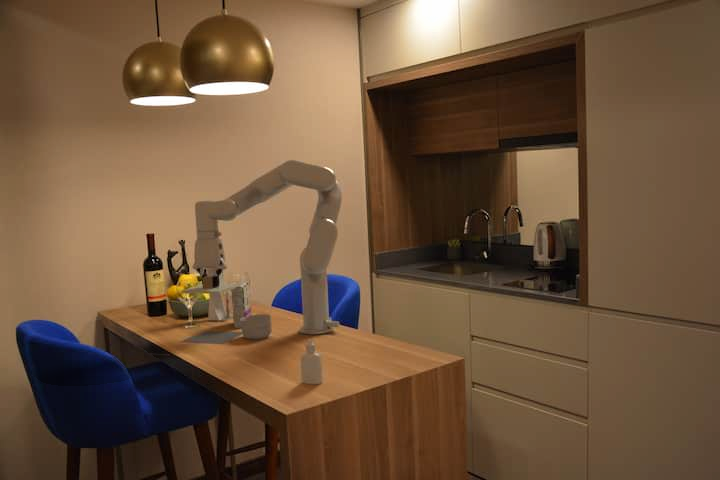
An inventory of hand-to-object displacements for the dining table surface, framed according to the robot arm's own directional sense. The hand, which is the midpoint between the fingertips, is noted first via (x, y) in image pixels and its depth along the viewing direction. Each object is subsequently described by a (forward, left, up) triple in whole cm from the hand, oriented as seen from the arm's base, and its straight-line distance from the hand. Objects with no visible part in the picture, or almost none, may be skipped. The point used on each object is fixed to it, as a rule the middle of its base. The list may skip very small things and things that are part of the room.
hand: (211, 286), depth 227 cm
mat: (0, 0, -19) cm, 19 cm away
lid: (0, 0, -1) cm, 1 cm away
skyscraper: (+15, -29, -19) cm, 38 cm away
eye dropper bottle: (-54, +40, -19) cm, 70 cm away
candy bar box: (-1, -20, -19) cm, 28 cm away
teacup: (-16, -4, -19) cm, 25 cm away
